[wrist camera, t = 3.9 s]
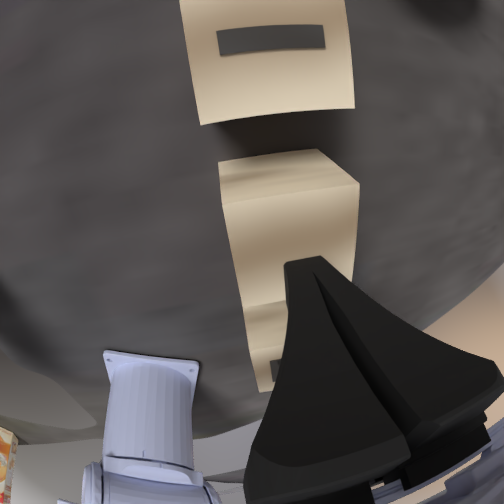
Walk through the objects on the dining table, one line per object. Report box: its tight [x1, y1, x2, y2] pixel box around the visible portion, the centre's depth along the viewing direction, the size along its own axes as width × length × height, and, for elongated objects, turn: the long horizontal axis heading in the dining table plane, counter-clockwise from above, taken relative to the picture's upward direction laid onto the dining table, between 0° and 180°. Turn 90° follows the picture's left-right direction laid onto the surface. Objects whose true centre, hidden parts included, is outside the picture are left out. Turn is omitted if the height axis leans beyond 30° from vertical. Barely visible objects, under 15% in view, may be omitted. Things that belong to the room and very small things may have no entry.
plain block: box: [218, 148, 360, 308], centre depth 13 cm, size 5×5×5 cm
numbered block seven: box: [242, 300, 288, 393], centre depth 18 cm, size 5×5×5 cm
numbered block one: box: [180, 0, 355, 125], centre depth 9 cm, size 5×5×5 cm
